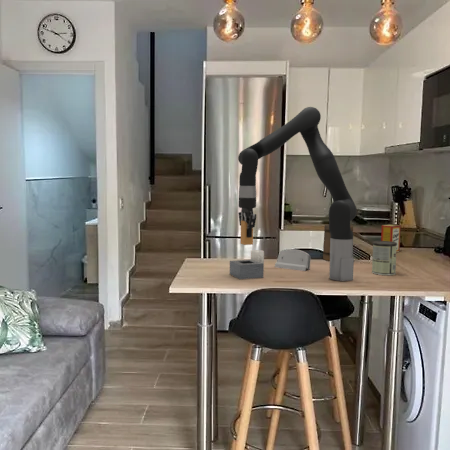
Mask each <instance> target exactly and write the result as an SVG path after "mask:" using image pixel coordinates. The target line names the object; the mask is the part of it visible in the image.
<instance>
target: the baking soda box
mask: <svg viewBox="0 0 450 450" xmlns="http://www.w3.org/2000/svg"><path fill="white" fill-rule="evenodd" d="M380 241H391V242H396V243H397V248H396V251H400V252H401V250H400V249H401V248H400V247H401V225H399V224H382V225H381V238H380Z"/></svg>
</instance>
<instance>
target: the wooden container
mask: <svg viewBox="0 0 450 450" xmlns="http://www.w3.org/2000/svg"><path fill="white" fill-rule="evenodd" d="M350 228H351V231H352V232H353V233H354V225H352V224H350ZM323 229H324V230H323V231H324V232H323V244H322V245H323V246H322V247H323V249H322V259H323V260H324V261H327V262H330V240H331V234H330V231H329V223H328V224H324V228H323Z"/></svg>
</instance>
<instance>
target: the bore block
mask: <svg viewBox="0 0 450 450" xmlns="http://www.w3.org/2000/svg"><path fill="white" fill-rule="evenodd" d="M264 268H265V263H264V264H263V263H261V262H258V261H255V260H251V259H238V260H229V275H230V274H231V275H230V276H232V275H233V276H232V277H234V278H235V279H239V280H246V279H249V280H250V279H261V278H264Z"/></svg>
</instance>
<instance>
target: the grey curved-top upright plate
mask: <svg viewBox="0 0 450 450" xmlns="http://www.w3.org/2000/svg"><path fill="white" fill-rule="evenodd" d="M274 268H279V269H284V270H285V269H286V270H294V271H302V272H306V271H307V270H311V255H310V254H309V253H307V252H306V251H304V250H300V249H295V248H293V249H292V248H289V249H287V248H286V249H282V250H280V251H279V253H278V256H277V259H276V262H275V263H274Z"/></svg>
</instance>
